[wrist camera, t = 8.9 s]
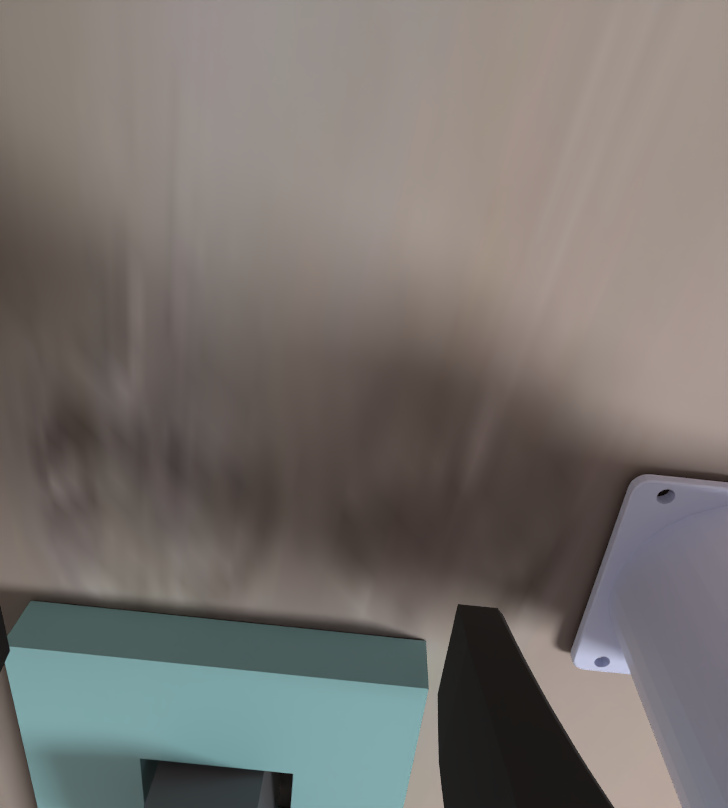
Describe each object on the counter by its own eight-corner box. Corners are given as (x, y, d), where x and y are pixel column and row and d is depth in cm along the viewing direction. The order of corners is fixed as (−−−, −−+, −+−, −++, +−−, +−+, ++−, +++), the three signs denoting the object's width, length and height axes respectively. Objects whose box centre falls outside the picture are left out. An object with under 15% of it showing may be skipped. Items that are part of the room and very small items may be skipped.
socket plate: (426, 640, 23) (428, 688, 22) (377, 883, 31) (376, 933, 29) (30, 600, 23) (0, 645, 21) (78, 853, 31) (59, 902, 29)
